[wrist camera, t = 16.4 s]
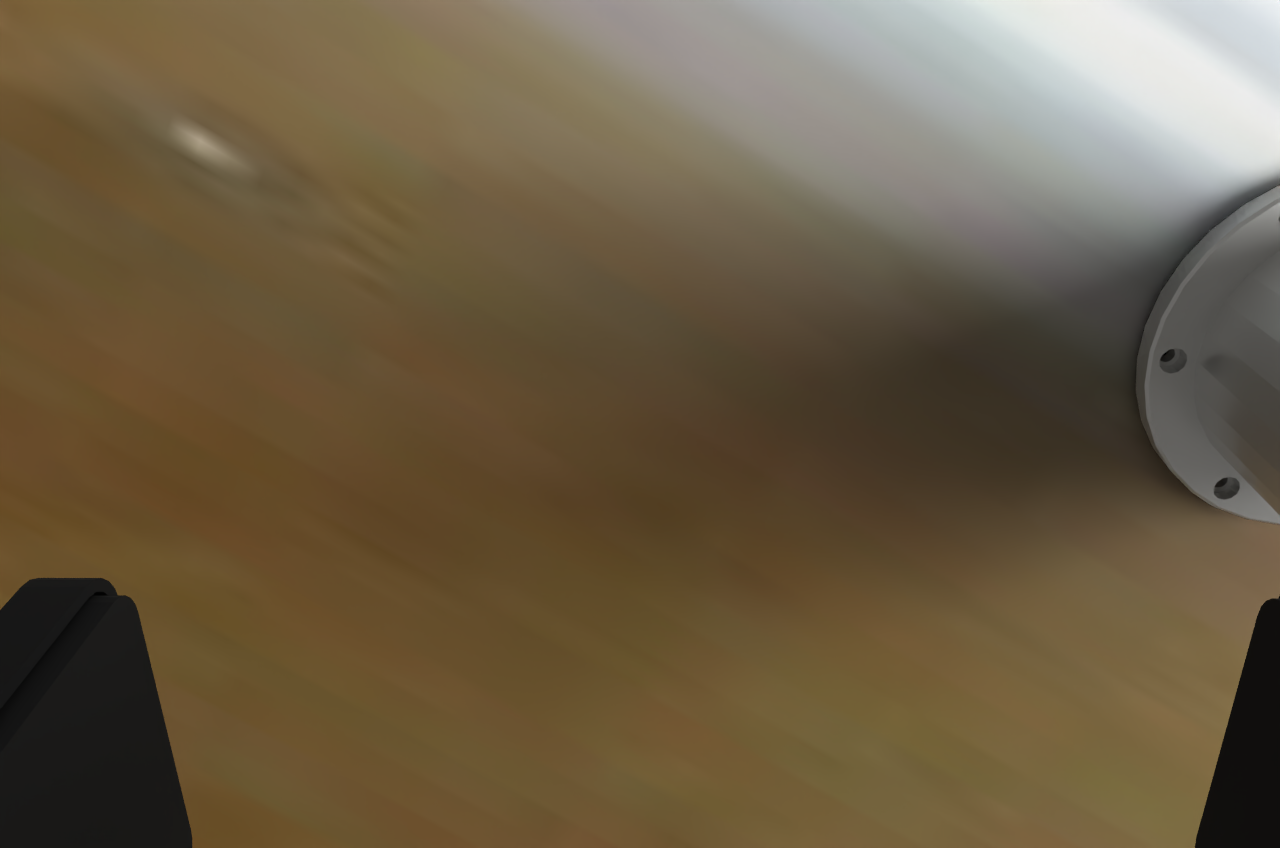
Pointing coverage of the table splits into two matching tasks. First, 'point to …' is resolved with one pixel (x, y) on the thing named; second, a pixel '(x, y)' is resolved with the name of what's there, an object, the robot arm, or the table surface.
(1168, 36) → the table surface
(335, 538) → the table surface
